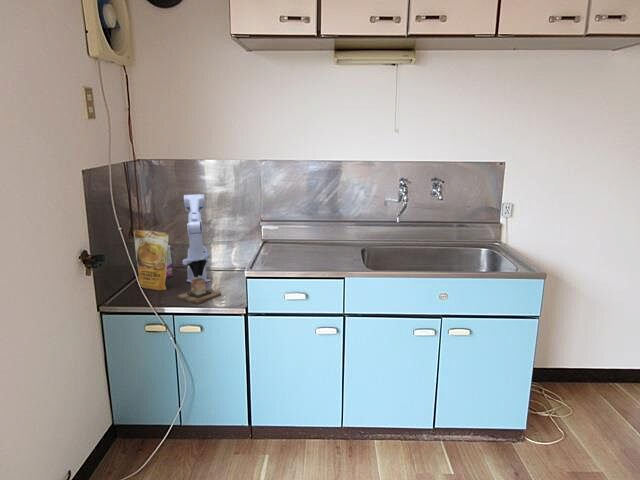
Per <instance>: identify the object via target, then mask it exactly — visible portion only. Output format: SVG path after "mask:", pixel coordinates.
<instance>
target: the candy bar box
mask: <svg viewBox="0 0 640 480" xmlns="http://www.w3.org/2000/svg"><path fill="white" fill-rule="evenodd" d="M171 247H172V246H171V245H169V244H168V257H167V268H166V279H168V278H171V277H174V269H173V268H174V267H173V260H172V248H171Z"/></svg>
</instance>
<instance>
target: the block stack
mask: <svg viewBox="0 0 640 480" xmlns="http://www.w3.org/2000/svg"><path fill="white" fill-rule="evenodd" d="M190 286H191V290H192V294H195V295H201V294H204V293H206V289H207V288H206V282H205V279H202V278H196V279H192V280H191V282H190ZM191 290H190V291H191Z"/></svg>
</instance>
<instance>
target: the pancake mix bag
mask: <svg viewBox="0 0 640 480" xmlns="http://www.w3.org/2000/svg"><path fill="white" fill-rule="evenodd" d="M132 233H133V240H134V249H135V259H136V263H137V264H136V265H137V272H138V284H139V283H140V285H141V287H142V289H147V290H154V291H167V286H166V279H167V278H166V268H167V257H168V245H169V243H170V234H168V233H167V232H166V231H154V230H147V229H145V230H144V229H134V230H132ZM141 287H140V288H141Z"/></svg>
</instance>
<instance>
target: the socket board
mask: <svg viewBox="0 0 640 480" xmlns="http://www.w3.org/2000/svg"><path fill="white" fill-rule="evenodd" d="M221 296H222V292H219V291H215V290H212V289H210V288H206V293H204V294H201V295H195V294H192V290H188V291H185V292H182V293H180V294H177V295H176V297H177V299H180V300H183V301H185V302H188V303H191V304H195V305H200V304H203V303H205V302H208V301H210V300H213V299H215V298H218V297H221Z"/></svg>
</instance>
